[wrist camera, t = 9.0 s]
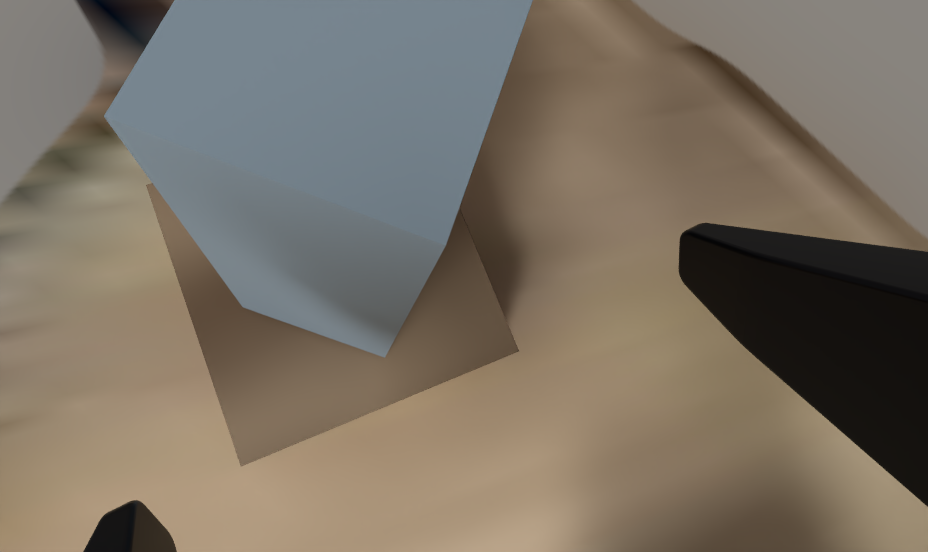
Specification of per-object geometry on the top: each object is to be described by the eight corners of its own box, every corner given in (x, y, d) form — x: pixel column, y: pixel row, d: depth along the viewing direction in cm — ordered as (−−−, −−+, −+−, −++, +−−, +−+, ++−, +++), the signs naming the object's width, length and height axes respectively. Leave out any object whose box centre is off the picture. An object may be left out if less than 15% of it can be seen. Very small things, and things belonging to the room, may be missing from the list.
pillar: (431, 229, 19) (537, -11, 9) (384, 357, 18) (445, 245, 8) (301, 179, 19) (255, -133, 9) (242, 307, 18) (104, 116, 7)
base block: (490, 361, 23) (519, 351, 19) (261, 456, 21) (240, 466, 17) (407, 156, 24) (418, 108, 20) (181, 224, 22) (145, 184, 18)
